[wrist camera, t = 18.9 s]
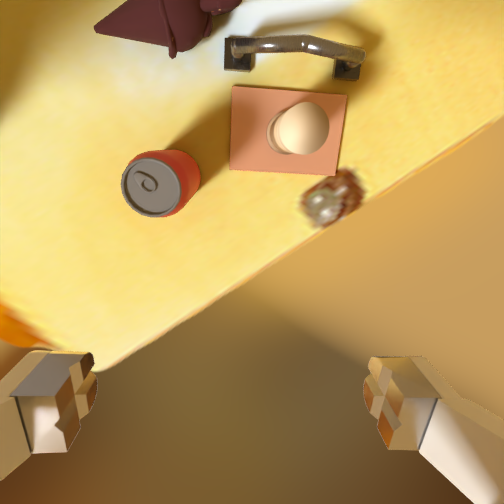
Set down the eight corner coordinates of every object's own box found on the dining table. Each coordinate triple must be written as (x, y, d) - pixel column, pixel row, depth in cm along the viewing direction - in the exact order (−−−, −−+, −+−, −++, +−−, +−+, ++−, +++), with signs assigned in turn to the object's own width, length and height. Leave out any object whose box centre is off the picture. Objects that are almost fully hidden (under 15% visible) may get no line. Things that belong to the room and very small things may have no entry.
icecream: (103, 73, 29) (251, 42, 30) (62, -29, 24) (236, -62, 25) (116, 70, 34) (240, 44, 35) (85, -13, 30) (227, -40, 31)
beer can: (172, 137, 37) (144, 134, 26) (211, 175, 39) (201, 188, 27) (140, 175, 38) (100, 188, 27) (179, 210, 40) (156, 236, 29)
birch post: (264, 153, 37) (275, 156, 27) (267, 110, 36) (280, 96, 25) (303, 155, 38) (328, 159, 28) (308, 112, 36) (336, 100, 26)
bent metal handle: (224, 70, 35) (221, 52, 28) (225, 40, 34) (222, 13, 27) (355, 80, 36) (383, 65, 29) (360, 52, 35) (390, 29, 28)
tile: (229, 169, 39) (229, 169, 38) (232, 87, 35) (232, 86, 35) (333, 175, 39) (334, 175, 39) (345, 95, 36) (347, 95, 36)
